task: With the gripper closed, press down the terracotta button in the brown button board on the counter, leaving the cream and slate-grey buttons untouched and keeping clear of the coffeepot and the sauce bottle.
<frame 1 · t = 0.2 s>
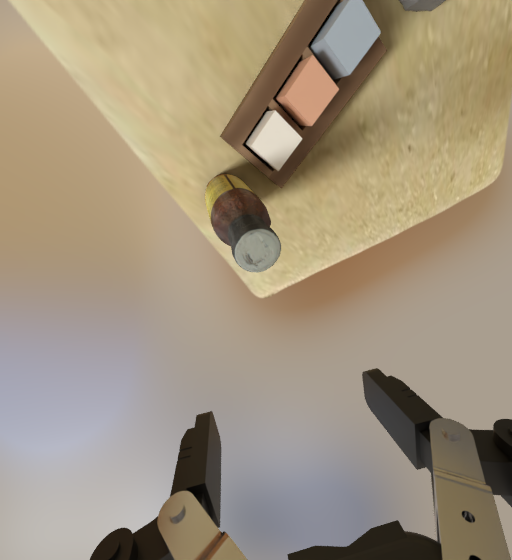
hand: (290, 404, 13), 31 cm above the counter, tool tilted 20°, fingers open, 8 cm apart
sauce bottle: (227, 194, 37), on the counter
brown button board: (294, 97, 32), on the counter
slate button: (343, 40, 27), point 4 cm above the counter, slide at 0.0 cm
cream button: (272, 141, 31), point 4 cm above the counter, slide at 0.0 cm
terracotta button: (305, 94, 29), point 4 cm above the counter, slide at 0.0 cm
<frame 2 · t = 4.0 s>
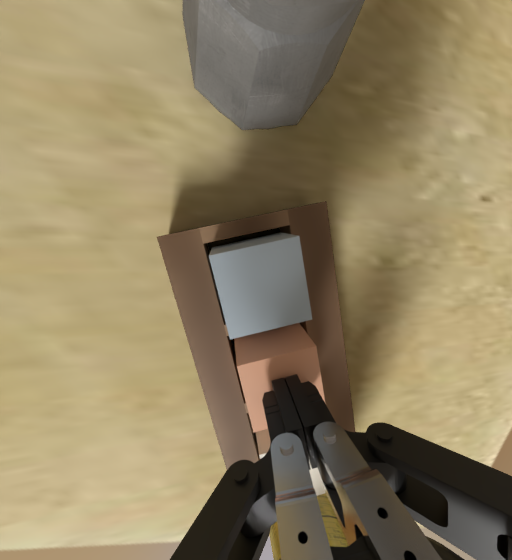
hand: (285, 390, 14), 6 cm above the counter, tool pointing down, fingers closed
sauce bottle: (295, 480, 24), on the counter
brown button board: (266, 340, 20), on the counter
slate button: (258, 280, 14), point 4 cm above the counter, slide at 0.0 cm
cream button: (292, 444, 17), point 4 cm above the counter, slide at 0.0 cm
coffeepot: (251, 34, 15), on the counter
terracotta button: (276, 369, 16), point 4 cm above the counter, slide at 0.0 cm, touching gripper
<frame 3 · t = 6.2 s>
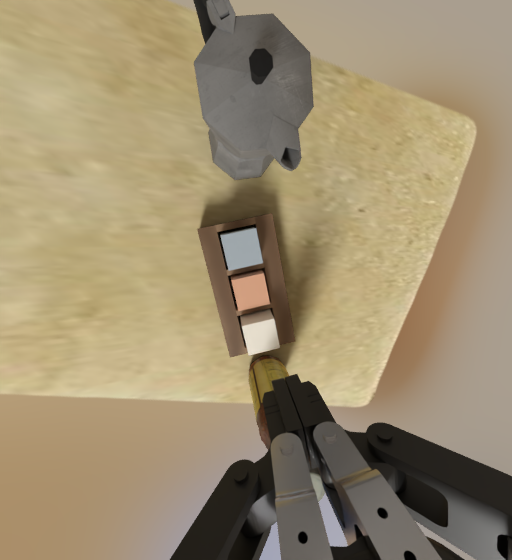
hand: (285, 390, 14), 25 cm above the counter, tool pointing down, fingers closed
sauce bottle: (266, 368, 42), on the counter
brown button board: (248, 284, 38), on the counter
slate button: (241, 248, 32), point 4 cm above the counter, slide at 0.0 cm
cream button: (259, 330, 35), point 4 cm above the counter, slide at 0.0 cm
coffeepot: (238, 137, 33), on the counter
terracotta button: (249, 288, 35), point 3 cm above the counter, slide at -1.4 cm
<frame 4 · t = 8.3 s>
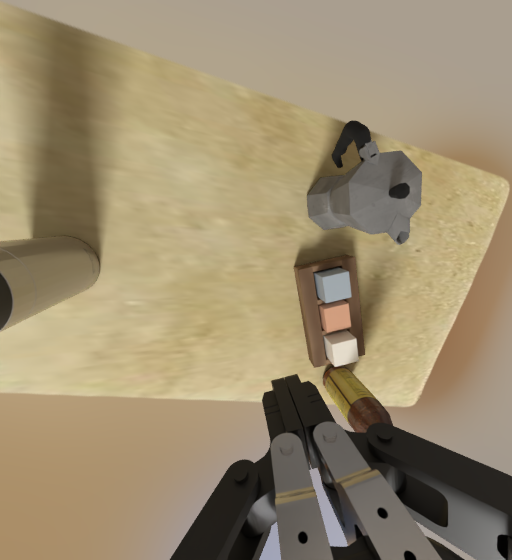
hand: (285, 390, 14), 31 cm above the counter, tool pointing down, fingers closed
sauce bottle: (336, 376, 51), on the counter
brown button board: (327, 309, 47), on the counter
slate button: (332, 284, 42), point 4 cm above the counter, slide at 0.0 cm
cream button: (340, 347, 45), point 4 cm above the counter, slide at 0.0 cm
coffeepot: (328, 197, 43), on the counter
terracotta button: (332, 314, 45), point 3 cm above the counter, slide at -1.4 cm
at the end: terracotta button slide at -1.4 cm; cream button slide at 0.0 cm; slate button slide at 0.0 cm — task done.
